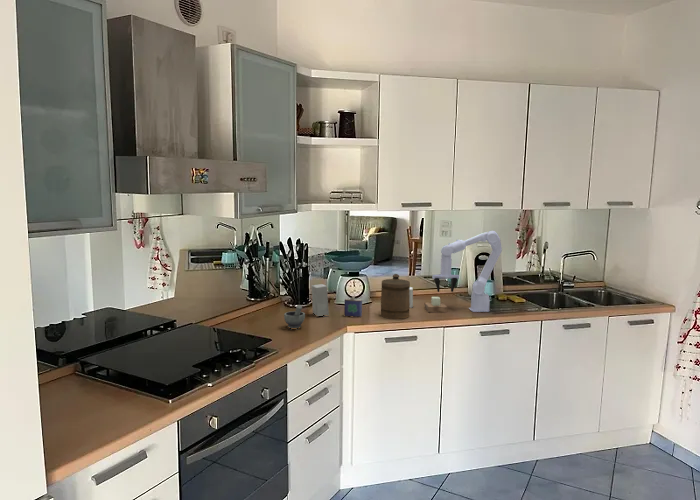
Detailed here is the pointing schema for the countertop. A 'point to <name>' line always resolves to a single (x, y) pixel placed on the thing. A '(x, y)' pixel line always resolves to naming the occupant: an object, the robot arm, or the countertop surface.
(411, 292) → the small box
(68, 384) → the countertop surface
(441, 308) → the base block
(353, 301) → the flask
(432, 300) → the cube
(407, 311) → the wooden container
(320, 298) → the skincare box
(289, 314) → the mortar and pestle
